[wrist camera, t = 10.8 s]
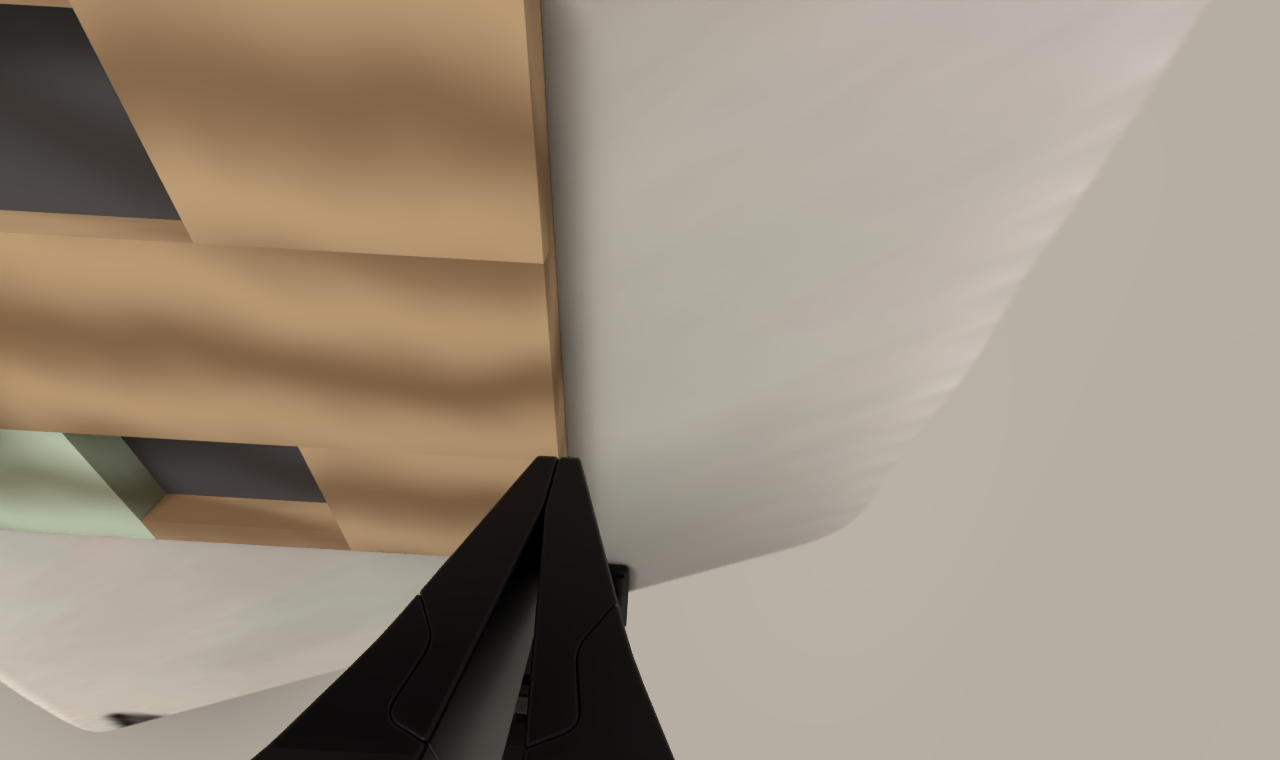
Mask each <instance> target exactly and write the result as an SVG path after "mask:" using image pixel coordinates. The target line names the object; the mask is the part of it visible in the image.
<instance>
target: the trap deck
mask: <svg viewBox="0 0 1280 760" xmlns="http://www.w3.org/2000/svg"><path fill="white" fill-rule="evenodd" d="M537 456H556V457H558V458H559V459H560V457H567V443H566V427H565V410H564V393H563V377H562V360H561V343H560V327H559V310H558V293H557V277H556V260H555V243H554V227H553V210H552V193H551V177H550V160H549V143H548V127H547V110H546V93H545V77H544V60H543V43H542V27H541V10H540V0H0V530H11V531H28V532H45V533H62V534H79V535H96V536H114V537H131V538H148V539H165V540H182V541H199V542H216V543H233V544H250V545H267V546H285V547H302V548H319V549H336V550H353V551H370V552H387V553H404V554H421V555H438V556H451V555H452V554H453V553H454V552H455V550H456V549H457V548H458V547H459V546H460V545H461V544H462V542H463V541H464V540H465V539H466V538H467V537H468V535H469V534H470V533H471V532H472V531H473V530H474V529H475V527H476V526H477V525H478V524H479V523H480V522H481V520H482V519H483V518H484V517H485V516H486V515H487V513H488V512H489V511H490V510H491V509H492V508H493V507H494V505H495V504H496V503H497V502H498V501H499V500H500V498H501V497H502V496H503V495H504V494H505V493H506V491H507V490H508V489H509V488H510V487H511V486H512V485H513V483H514V482H515V481H516V480H517V479H518V478H519V476H520V475H521V474H522V473H523V472H524V471H525V470H526V468H527V467H528V466H529V465H530V464H531V463H532V461H533V460H534V459H535V458H536V457H537Z"/></svg>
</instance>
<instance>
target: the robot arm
mask: <svg viewBox="0 0 1280 760" xmlns="http://www.w3.org/2000/svg"><path fill="white" fill-rule="evenodd" d="M628 587H629V568H628V567H626V566H624V565H613V564H608V563H607V559H606V555H605V551H604V547H603V543H602V540H601V536H600V532H599V528H598V524H597V520H596V517H595V513H594V509H593V505H592V501H591V497H590V493H589V490H588V486H587V482H586V478H585V474H584V470H583V467H582V463H581V460H580V458H577V457H560V459H559V458H558V457H556V456H537V457H536V458H535V459H534V460H533V461H532V463H531V464H530V465H529V466H528V467H527V468H526V470H525V471H524V472H523V473H522V474H521V475H520V476H519V478H518V479H517V480H516V481H515V482H514V483H513V485H512V486H511V487H510V488H509V489H508V490H507V491H506V493H505V494H504V495H503V496H502V497H501V498H500V500H499V501H498V502H497V503H496V504H495V505H494V507H493V508H492V509H491V510H490V511H489V512H488V513H487V515H486V516H485V517H484V518H483V519H482V520H481V522H480V523H479V524H478V525H477V526H476V527H475V529H474V530H473V531H472V532H471V533H470V534H469V535H468V537H467V538H466V539H465V540H464V541H463V542H462V544H461V545H460V546H459V547H458V548H457V549H456V550H455V552H454V553H453V554H452V555H451V556H450V557H449V559H448V560H447V561H446V562H445V563H444V564H443V566H442V567H441V568H440V569H439V570H438V571H437V572H436V574H435V575H434V576H433V577H432V578H431V579H430V581H429V582H428V583H427V584H426V585H425V586H424V588H423V589H422V590H421V591H420V595H421V596H420V595H416V596H415V598H414V599H413V600H412V601H411V602H410V603H409V605H408V606H407V607H406V608H405V609H404V610H403V612H402V613H401V614H400V615H399V616H398V617H397V618H396V619H395V620H394V622H393V623H392V624H391V625H390V626H389V627H388V628H387V629H386V630H385V631H384V633H383V634H382V635H381V636H380V637H379V638H378V639H377V640H376V641H375V642H374V643H373V644H372V645H371V646H370V647H369V648H368V649H367V650H366V651H365V652H364V653H363V654H362V655H361V656H360V657H359V658H358V659H357V660H356V661H355V662H354V663H353V664H352V665H351V666H350V667H349V668H348V669H347V670H346V671H345V672H344V673H343V674H342V675H341V676H340V677H339V678H338V679H337V680H336V681H335V682H334V683H333V684H332V685H330V686H329V687H328V688H327V689H326V690H325V692H323V693H322V694H321V695H320V696H319V697H318V698H317V699H316V700H315V701H314V702H313V703H312V704H311V705H310V706H309V707H308V708H307V709H306V710H305V711H304V712H302V713H301V714H300V715H299V717H297V718H296V719H295V720H294V721H293V722H292V723H291V724H290V725H289V726H288V727H287V728H286V729H285V730H284V731H283V732H282V733H281V734H280V735H279V736H278V737H277V738H275V739H274V740H273V741H272V742H271V743H270V744H269V745H268V746H267V747H265V748H264V749H263V750H262V751H261V752H259V753H258V754H257V755H256V756H255V757H254V758H252V759H251V760H675V759H674V757H673V754H672V752H671V750H670V747H669V745H668V742H667V740H666V737H665V735H664V733H663V730H662V728H661V725H660V723H659V720H658V718H657V716H656V713H655V711H654V708H653V706H652V703H651V701H650V699H649V696H648V694H647V691H646V689H645V686H644V684H643V681H642V678H641V676H640V673H639V670H638V668H637V665H636V662H635V660H634V657H633V654H632V651H631V647H630V644H629V641H628V638H627V634H626V631H625V626H626V619H627V604H628Z"/></svg>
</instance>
